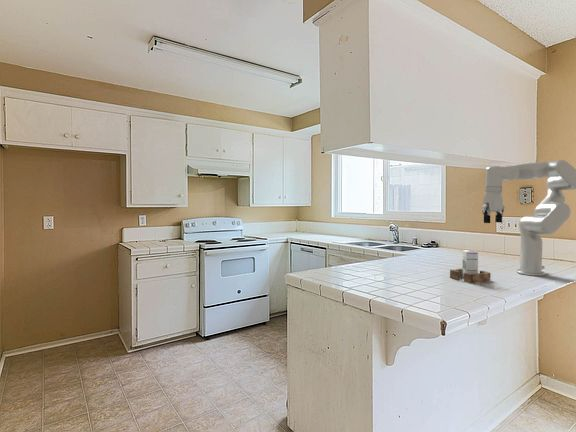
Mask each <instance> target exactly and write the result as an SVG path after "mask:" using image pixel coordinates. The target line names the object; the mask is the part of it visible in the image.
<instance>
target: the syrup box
mask: <svg viewBox="0 0 576 432" xmlns="http://www.w3.org/2000/svg"><path fill="white" fill-rule="evenodd" d="M462 268H463V277H462V279H464V273H469V274H478V273H479V252H478V251H477V250H473V249H472V250H471V249H463V250H462Z"/></svg>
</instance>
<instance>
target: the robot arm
mask: <svg viewBox="0 0 576 432" xmlns="http://www.w3.org/2000/svg"><path fill="white" fill-rule="evenodd" d="M541 178H548V179H546V182H545V183H546V184H545V185H546V189H547V191H546V192H547V193H546V194H547V195H546V196H545V197H544V199H542V200H541V202H540V203H538V205H537V206H535V208H534V211H533V215H525V216H523V217H521V218H520V220H519V221H518V229H519V232H520V255H519V256H520V258H519V268H518V269H516V273H517V274H521V275H527V276H535V277H536V276H537V277H538V276H539V277H542V276H546V272H544V271H542V270H544V269H546V267H545V265H543V239H542V236H541V235H547V236H549V235H552V234H555V233H556V232H557V231H558V230H559V229H560V228H561V227H562V226H563V225H564V223H566V221H567V220H568V219H569V218H570V215H571V212H572V211H571V208H570V206H569V204H567V203H566V198H565V196H564V193H563V191H567V190H569V191H571V190H573V191H574V190H576V168H575V166H573V165H572V164H571V163H569V162H568V161H566V160H564V159H557V160H556V159H555V160H549V161H539V162H529V163H521V164H517V165H507V166H496V165H495V166H494V165H493V166H488V167H486V168H485V189H484V190H485V191H484V196H483V199H482V206H481V210H482V211H481V212H482V215H483V223H484V224H491V213H494V212H495V223H503V214H504V211H505V207H506V206H505V205H504V203H503V181H505V182H506V181H507V182H508V181H513V180H516V181H518V180H524V181H525V180H533V179H541Z"/></svg>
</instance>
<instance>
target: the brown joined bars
mask: <svg viewBox="0 0 576 432" xmlns="http://www.w3.org/2000/svg"><path fill="white" fill-rule="evenodd" d="M449 278H451V280H452V279H453V280H457V281H458V280H461V278H463V267H461V268H454V269H449ZM490 281H491V272H489V271H485V270H479V272H478V274H469V273H464V278H463V282H465V283H469V284H477V283H484V282H490Z"/></svg>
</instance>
